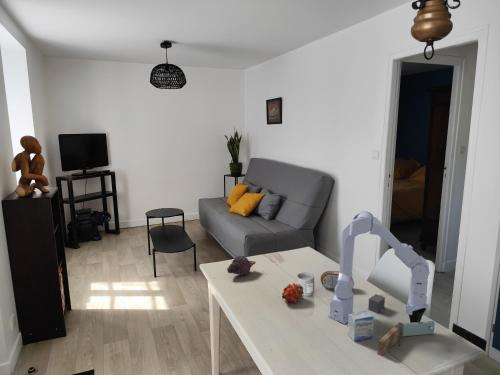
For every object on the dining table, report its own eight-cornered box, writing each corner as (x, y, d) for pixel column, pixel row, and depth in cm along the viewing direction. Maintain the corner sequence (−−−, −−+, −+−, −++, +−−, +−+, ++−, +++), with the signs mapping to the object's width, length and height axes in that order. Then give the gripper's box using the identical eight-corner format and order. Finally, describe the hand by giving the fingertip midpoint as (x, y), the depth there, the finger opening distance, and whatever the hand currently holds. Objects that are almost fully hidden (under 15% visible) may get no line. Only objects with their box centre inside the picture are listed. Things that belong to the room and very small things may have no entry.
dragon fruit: (305, 300, 156) (284, 312, 150) (293, 285, 160) (273, 295, 154) (311, 291, 150) (290, 303, 144) (299, 275, 154) (278, 286, 148)
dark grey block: (377, 313, 141) (377, 302, 140) (368, 310, 144) (368, 299, 143) (384, 308, 145) (384, 297, 144) (375, 304, 148) (375, 294, 147)
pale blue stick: (404, 337, 124) (405, 326, 124) (401, 334, 126) (402, 323, 126) (435, 335, 126) (436, 323, 125) (432, 331, 128) (433, 320, 127)
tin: (352, 287, 164) (352, 270, 163) (353, 290, 161) (354, 273, 159) (320, 286, 166) (320, 270, 164) (320, 289, 162) (321, 272, 161)
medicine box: (353, 342, 123) (354, 320, 122) (347, 334, 128) (348, 313, 126) (373, 338, 125) (374, 316, 124) (365, 331, 130) (366, 310, 128)
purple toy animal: (232, 282, 171) (232, 263, 169) (221, 276, 179) (220, 258, 177) (259, 272, 182) (259, 254, 180) (248, 267, 190) (247, 249, 188)
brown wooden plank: (382, 356, 115) (382, 342, 114) (377, 354, 117) (378, 340, 116) (402, 336, 126) (403, 323, 125) (397, 334, 127) (398, 321, 126)
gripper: (421, 302, 119) (418, 337, 121) (436, 288, 128) (433, 321, 131) (401, 294, 124) (398, 329, 126) (417, 282, 133) (414, 313, 136)
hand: (414, 324), depth 129 cm, fingers closed
